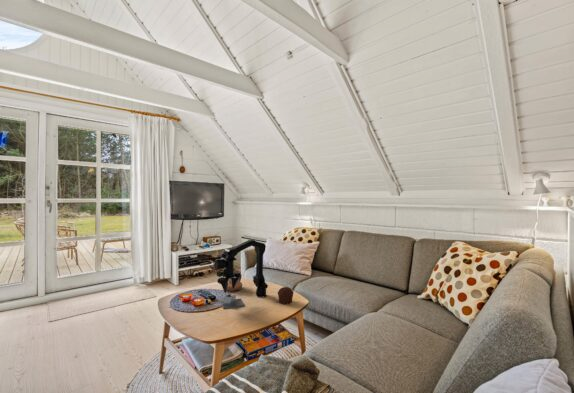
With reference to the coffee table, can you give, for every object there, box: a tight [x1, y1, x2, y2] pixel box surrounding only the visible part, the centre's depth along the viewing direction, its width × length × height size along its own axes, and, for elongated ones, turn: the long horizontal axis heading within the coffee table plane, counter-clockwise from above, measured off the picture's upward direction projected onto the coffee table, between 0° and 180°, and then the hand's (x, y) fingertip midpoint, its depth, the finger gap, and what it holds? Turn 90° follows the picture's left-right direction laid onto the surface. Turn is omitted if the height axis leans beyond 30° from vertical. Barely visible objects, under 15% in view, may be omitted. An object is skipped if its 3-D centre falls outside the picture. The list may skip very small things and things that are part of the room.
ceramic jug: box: [227, 268, 243, 292], centre depth 227 cm, size 18×14×14 cm
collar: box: [222, 293, 237, 305], centre depth 196 cm, size 6×6×5 cm
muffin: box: [277, 286, 294, 305], centre depth 201 cm, size 12×11×10 cm
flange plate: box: [220, 297, 245, 310], centre depth 197 cm, size 14×12×5 cm
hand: (229, 290), depth 196 cm, fingers open, 9 cm apart
